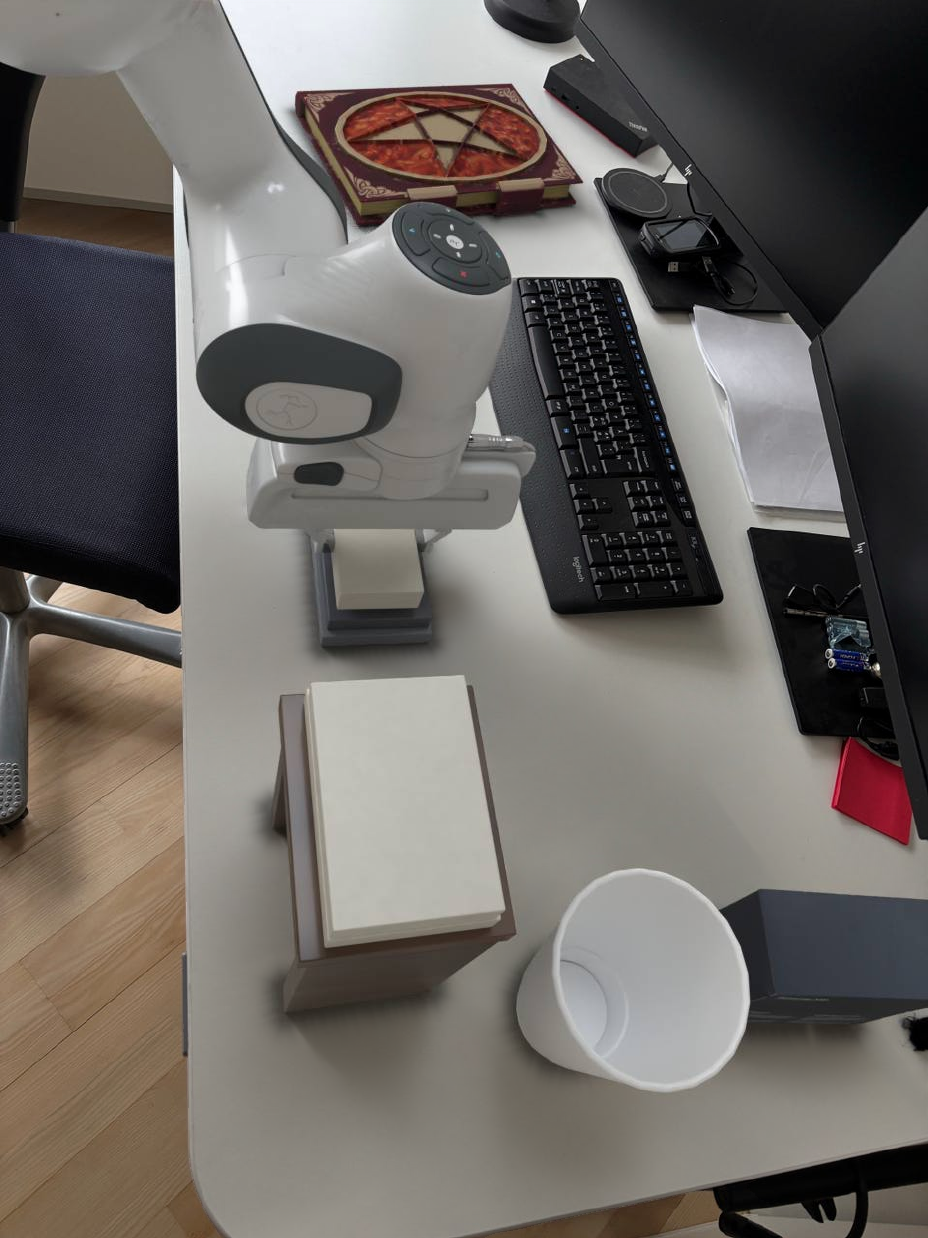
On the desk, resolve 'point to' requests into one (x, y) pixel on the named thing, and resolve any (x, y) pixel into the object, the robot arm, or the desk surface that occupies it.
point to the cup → (638, 984)
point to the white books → (399, 810)
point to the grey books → (366, 614)
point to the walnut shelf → (315, 967)
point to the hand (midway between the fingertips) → (371, 545)
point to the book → (435, 149)
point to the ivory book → (376, 569)
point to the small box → (831, 955)
